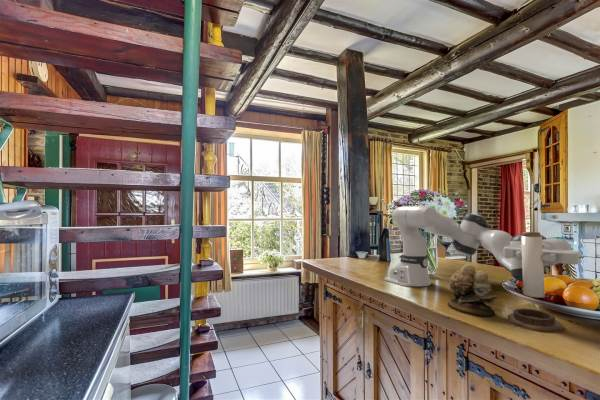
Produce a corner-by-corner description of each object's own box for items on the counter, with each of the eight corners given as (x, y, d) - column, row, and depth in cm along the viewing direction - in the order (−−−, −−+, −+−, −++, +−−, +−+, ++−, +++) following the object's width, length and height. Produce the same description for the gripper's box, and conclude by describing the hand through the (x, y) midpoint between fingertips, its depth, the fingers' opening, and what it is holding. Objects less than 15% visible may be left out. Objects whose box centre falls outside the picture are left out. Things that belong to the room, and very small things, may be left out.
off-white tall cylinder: (520, 294, 98) (517, 232, 99) (527, 291, 101) (524, 231, 102) (541, 298, 94) (538, 233, 94) (547, 295, 97) (544, 232, 98)
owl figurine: (506, 315, 106) (504, 266, 106) (485, 321, 101) (483, 269, 101) (460, 300, 122) (458, 258, 122) (439, 305, 117) (438, 261, 117)
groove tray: (500, 321, 99) (499, 312, 99) (517, 312, 107) (517, 304, 107) (553, 335, 88) (553, 325, 88) (568, 324, 96) (568, 315, 96)
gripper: (586, 266, 97) (573, 271, 89) (513, 258, 114) (497, 262, 106) (585, 246, 97) (572, 250, 89) (512, 241, 114) (496, 244, 106)
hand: (531, 257), depth 97 cm, fingers closed on off-white tall cylinder, 5 cm apart
